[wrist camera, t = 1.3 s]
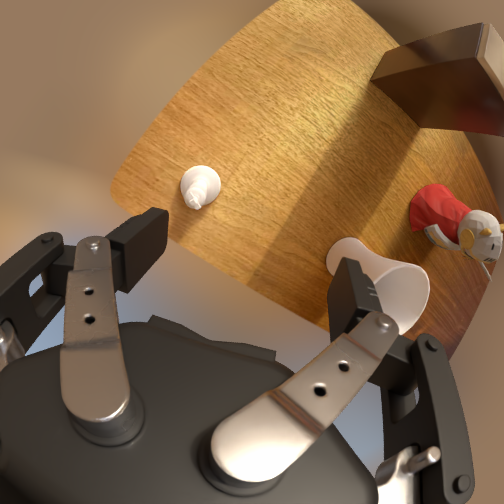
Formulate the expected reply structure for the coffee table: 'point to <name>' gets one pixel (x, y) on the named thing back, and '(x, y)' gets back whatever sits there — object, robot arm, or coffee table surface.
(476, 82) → the rectangular box
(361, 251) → the cup
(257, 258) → the coffee table surface
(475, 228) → the figurine
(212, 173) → the chess piece
